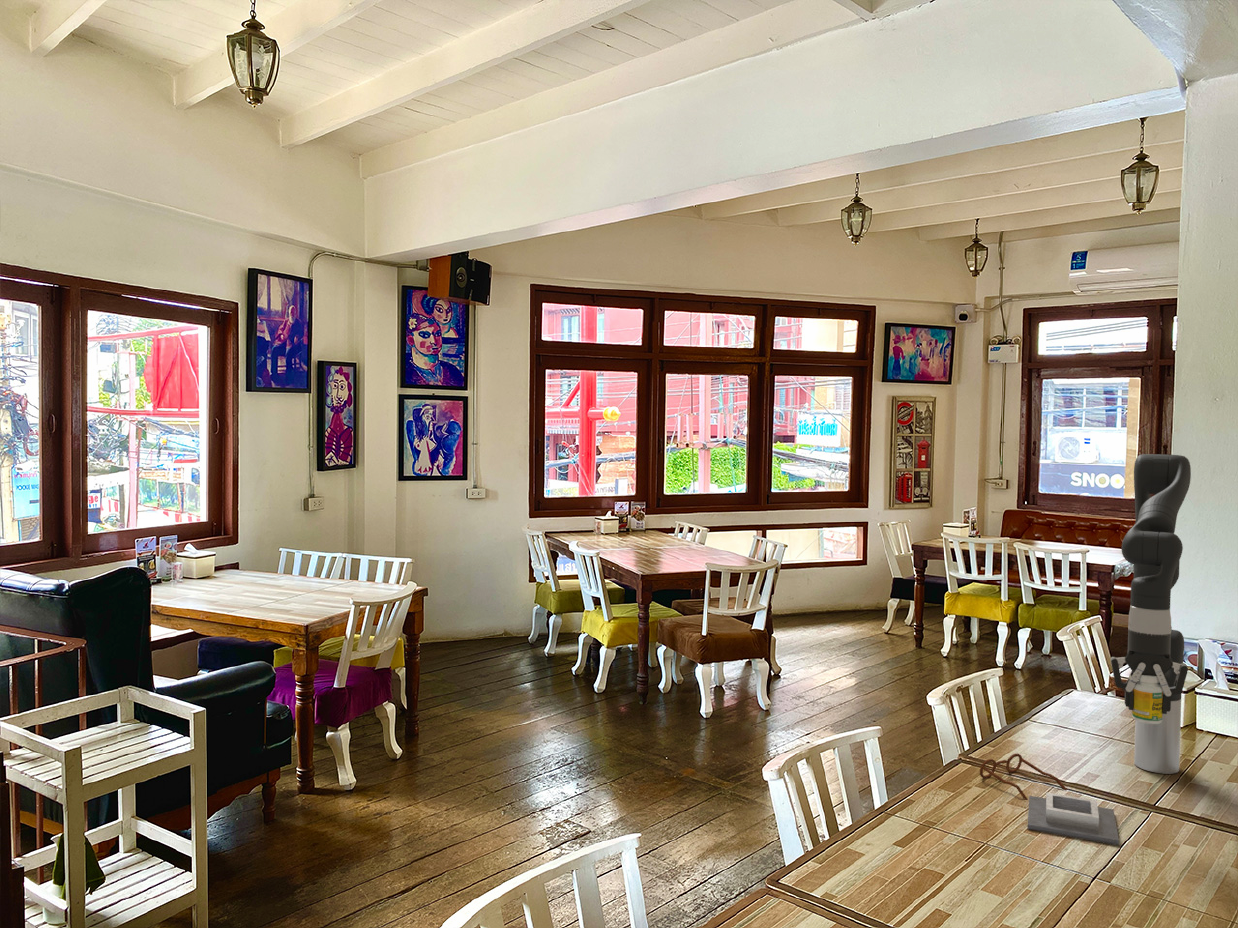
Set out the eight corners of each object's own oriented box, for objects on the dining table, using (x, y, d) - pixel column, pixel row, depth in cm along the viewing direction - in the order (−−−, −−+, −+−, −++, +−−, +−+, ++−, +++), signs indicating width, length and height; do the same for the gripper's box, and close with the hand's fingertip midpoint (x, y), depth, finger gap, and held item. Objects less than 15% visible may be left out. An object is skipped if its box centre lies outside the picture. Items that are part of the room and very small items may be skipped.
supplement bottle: (1140, 714, 188) (1141, 669, 188) (1167, 721, 184) (1168, 675, 184) (1126, 719, 185) (1128, 672, 185) (1154, 726, 181) (1155, 678, 181)
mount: (1029, 799, 195) (1029, 783, 195) (1113, 813, 188) (1113, 797, 188) (1027, 829, 180) (1028, 811, 180) (1118, 845, 174) (1119, 827, 173)
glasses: (1018, 771, 212) (1019, 750, 212) (1067, 791, 201) (1068, 769, 200) (978, 780, 207) (978, 759, 206) (1025, 801, 195) (1026, 779, 195)
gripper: (1187, 628, 185) (1185, 710, 185) (1108, 622, 191) (1106, 701, 191) (1193, 636, 178) (1190, 721, 178) (1110, 628, 184) (1108, 711, 184)
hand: (1147, 710), depth 185 cm, fingers closed on supplement bottle, 5 cm apart
